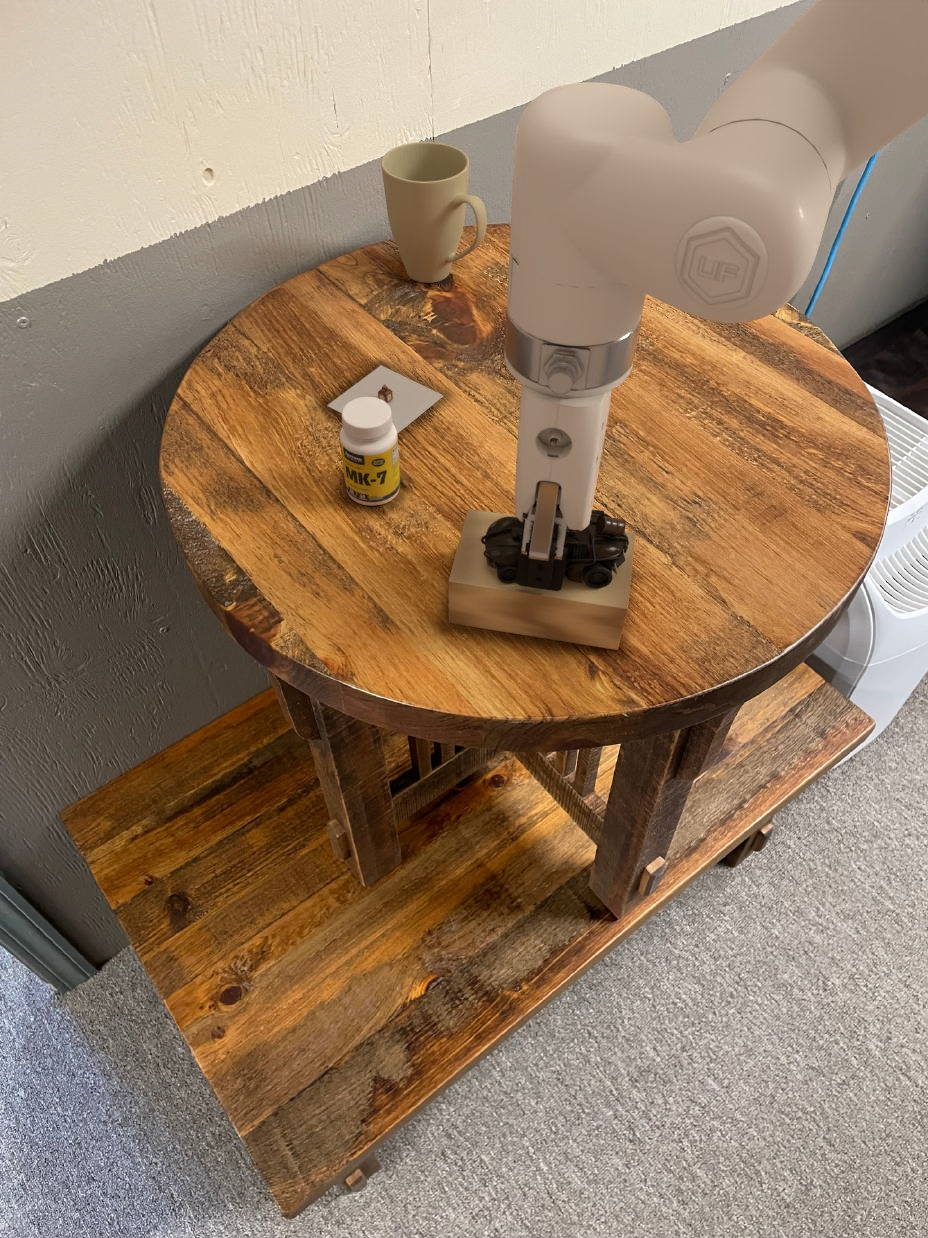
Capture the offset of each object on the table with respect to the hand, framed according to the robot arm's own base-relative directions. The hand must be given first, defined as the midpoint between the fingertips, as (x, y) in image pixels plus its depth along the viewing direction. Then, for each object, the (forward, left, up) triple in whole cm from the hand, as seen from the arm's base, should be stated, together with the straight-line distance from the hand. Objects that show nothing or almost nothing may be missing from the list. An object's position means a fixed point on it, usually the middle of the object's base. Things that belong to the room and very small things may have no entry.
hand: (546, 547), depth 63 cm
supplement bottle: (+16, -10, -6) cm, 20 cm away
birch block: (0, 0, -6) cm, 6 cm away
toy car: (0, 0, -1) cm, 1 cm away
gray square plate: (+18, -22, -6) cm, 29 cm away
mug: (+18, -45, -6) cm, 48 cm away
